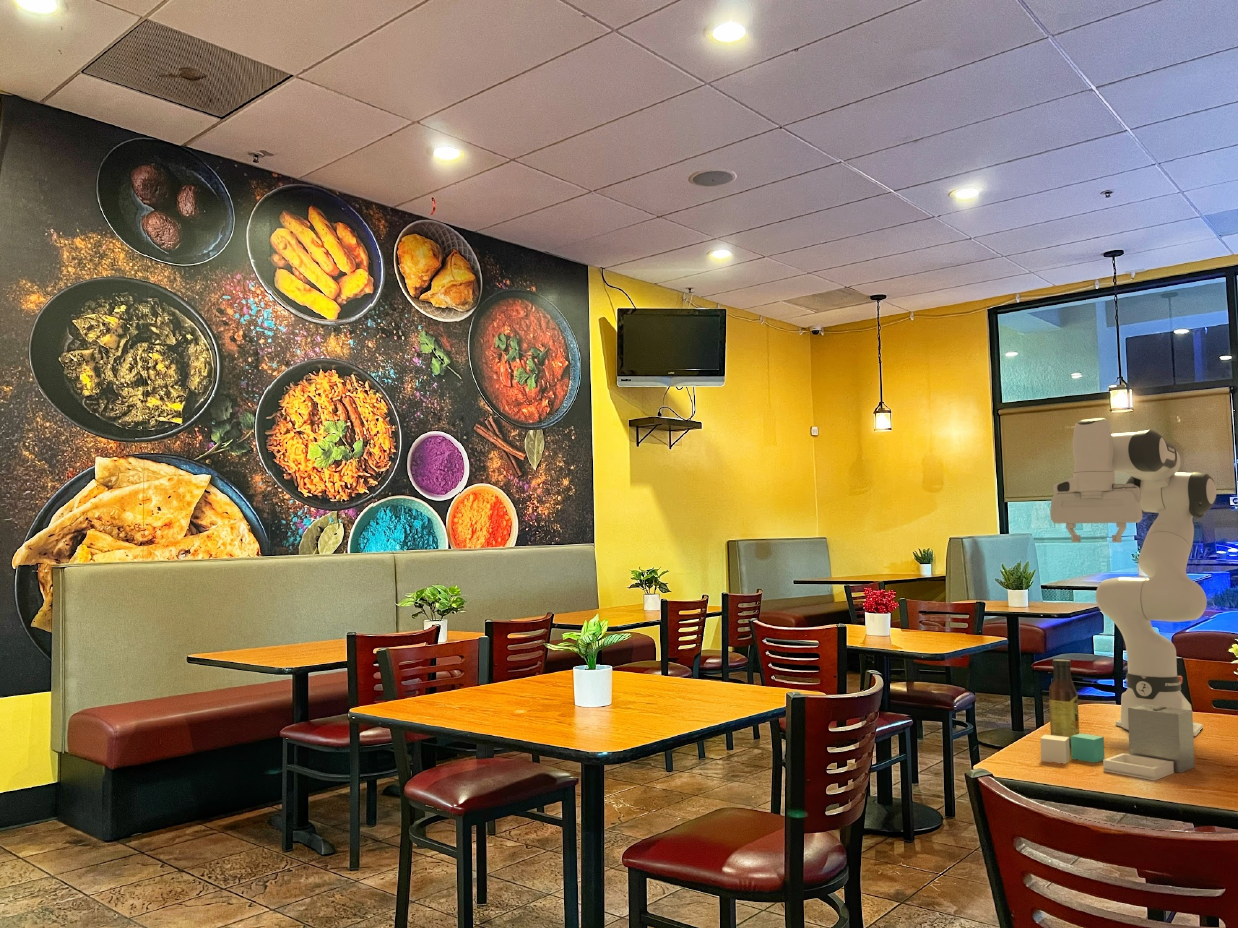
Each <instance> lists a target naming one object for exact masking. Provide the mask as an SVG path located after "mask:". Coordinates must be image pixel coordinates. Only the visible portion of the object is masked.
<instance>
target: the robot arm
mask: <svg viewBox="0 0 1238 928" xmlns="http://www.w3.org/2000/svg"><path fill="white" fill-rule="evenodd" d="M1072 457H1073V461H1074V467H1073V474H1072V475H1073V477H1071V478H1068V479H1065V480H1063V481H1060V482H1057V483H1055V484H1053V486H1052V490H1053V492H1054V493H1055V494H1053V496H1052V497H1051V499H1050V500H1051V502H1050V508H1049V509H1050V512H1049V513H1050V515H1049V516H1050V520H1051V522H1052V523H1054V524H1058V525H1059V524H1065V528H1066V530H1067V532H1068V533H1069V535H1070V538H1071V543H1081V541H1082V540H1081V539H1082V538H1081V534H1078V533H1077V532H1076V531H1075V529H1076V524H1116V525H1115V528H1118V529H1117V531H1116V533H1115V534H1112V535H1111V538H1112V539H1111V541H1112V543H1117V544H1118V543H1119V544H1121V543H1122V542H1123V541H1122V535H1123V534H1124V533H1125V531H1126V529H1127V523H1129V524H1130V523H1131V524H1133V523H1136V524H1138V523H1140V522H1141V521H1142V519H1143V513H1156V514H1158V516H1157V517H1156V519H1155V520H1154V521H1153V523H1152V524H1151V525H1150V528H1149V529H1148V531H1147V533H1146V536H1145V538H1144V541H1143V544H1142V547H1141V549H1140V551H1139V552H1140V553H1139V556H1138V559H1137V560H1138V566H1139V568H1140V570H1141V571H1142V572H1143V573H1144V574H1145V575H1146V576H1147V577H1137V576H1136V577H1135V576H1120V577H1119V576H1117V577H1112V578H1107V579H1104V580H1102V581H1101V582H1100V583H1099V585H1098V586H1097V588H1096V590H1095V602H1096V605H1097V607H1098V608H1099V610H1100V611H1101V612H1102V613H1103V614H1104V615H1105V616H1107V617H1108V618H1109V619H1110V620H1111V621H1112V622H1113V623H1114V624H1115V625H1116V627H1117V628H1118V630H1119V631H1120V633H1121V635H1122V639H1123V641H1124V644H1125V651H1126V652H1125V653H1126V661H1127V672H1126V673H1125V676H1126V677H1125V683H1126V687H1127V689H1126V691H1124V692H1122V694H1121V700H1120V703H1121V704H1120V719H1119V720H1115V722H1114V723H1115V725H1114V726H1118V727H1121V728H1123V729H1124V730H1127V731H1129V724H1128V708H1130V707H1133V706H1137V705H1141V704H1146V705H1154V706H1162V707H1170V708H1178V709H1186V710H1192V711H1193V709H1192V704H1191V703H1190V702H1189V701H1188V699H1187V698H1186V697H1185V695H1184V694H1183V693H1182V691H1181V690H1182V687H1181V686H1182V684H1183V676H1182V675H1178V670H1177V669H1178V667H1177V665H1178V663H1177V649H1176V646H1175V644H1174V643H1173V642H1172V641H1171V640H1170V639H1169V638H1167V637H1165V636H1163V635H1162V634H1160V633H1158V632H1157V631H1155V629H1154V627H1153V625H1152V622H1151V621H1157V622H1172V623H1180V622H1190V621H1196V620H1199V619H1200V618H1201V617H1202V616H1203V614H1204V613H1205V611H1206V608H1207V604H1208V603H1207V602H1208V600H1207V596H1206V593H1205V591H1204V589H1203V587H1202V586H1201V585H1200V584H1199V583H1198V582H1196V581H1194V580H1193V579H1191V578H1190V577H1189V576H1188V574H1187V565H1188V561H1189V557H1190V554H1191V552H1192V548H1193V544H1194V543H1193V542H1194V536H1195V526H1194V523H1193V518H1194V519H1196V520H1199V519H1201V518H1202V517H1203V516H1204V514H1206V513H1207V512H1208V511H1209V510H1210V509H1211V508H1212V507H1213V506H1214V504H1215V502H1216V498H1217V487H1216V483H1215V481H1214V479H1213V478H1212V477H1211V475H1210V474H1208V473H1205V472H1199V471H1192V472H1183V471H1182V472H1179V469H1180V468H1181V464H1182V463H1181V462H1182V461H1181V456H1180V454H1179V452H1178V451H1177V448H1176V447H1175V445H1174V444H1173V443H1171V442H1169V441H1168V440H1167V441H1166V439H1165V438H1164V436H1163V435H1162V434H1160V433H1159V432H1157V431H1156V430H1153V429H1148V430H1139V431H1135V432H1134V431H1131V432H1120V433H1112V426H1111V422H1110V419H1108V418H1104V417H1096V418H1088V419H1082V420H1079V421H1077V422H1075V424H1074V429H1073V435H1072ZM1115 473H1116V474H1117V473H1119V474H1120V473H1127V474H1128V475H1129V476H1130V477H1129V478H1128V479H1127V481H1126V483H1115V482H1116V481H1115ZM1202 728H1204V727H1203V724H1202V723H1198V722H1195V721H1193V737H1197V735H1199V733H1200V732H1201V731H1202V730H1203V729H1202ZM1201 729H1202V730H1201ZM1200 730H1201V731H1200Z"/></svg>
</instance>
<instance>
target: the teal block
mask: <svg viewBox="0 0 1238 928" xmlns="http://www.w3.org/2000/svg"><path fill="white" fill-rule="evenodd" d="M1070 748H1071V749H1070V756H1071V759H1073V760H1076V759H1078V760H1077V761H1081V762H1087V761H1088V762H1087V763H1093V762H1094V764H1095V762H1096V763H1099V762H1101V761H1103V760H1104V759H1106V757H1105V738H1104V736H1101V735H1100V736H1099V735H1093V734H1088V733H1082V732H1081V733H1080V732H1079V734H1077V735H1073V736H1071V747H1070Z"/></svg>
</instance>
